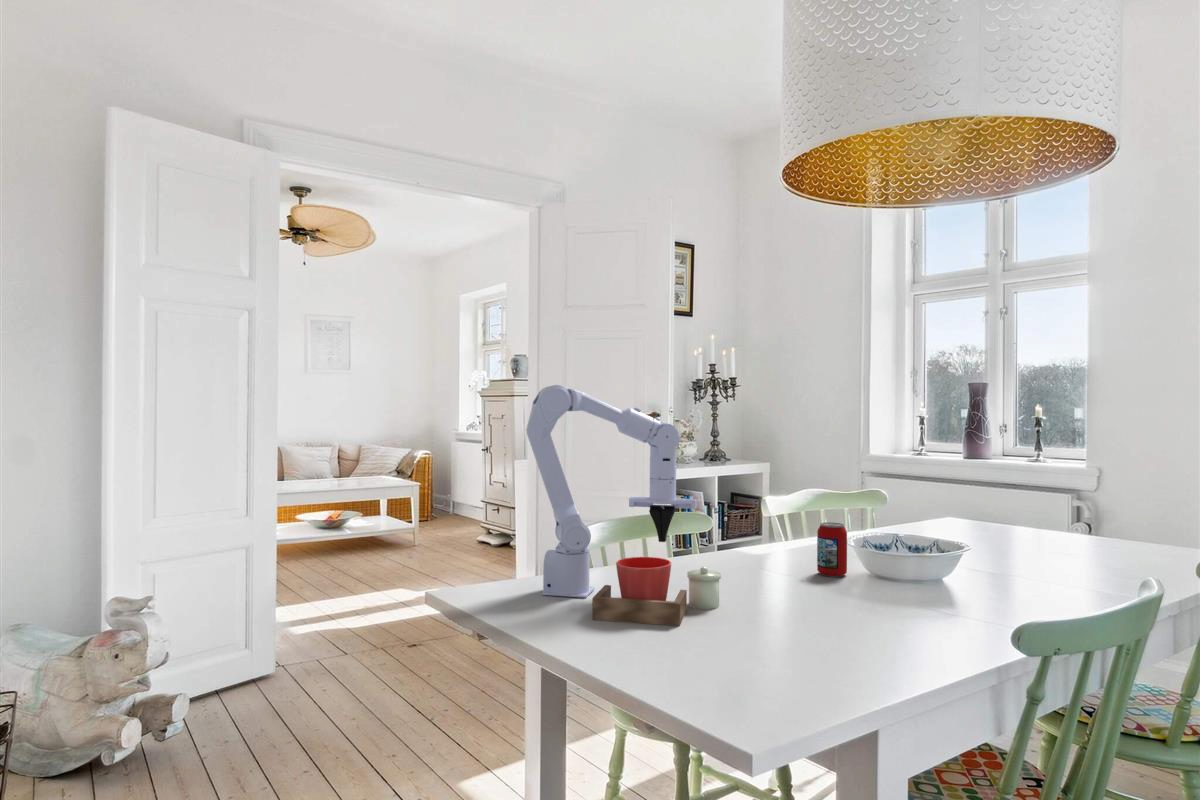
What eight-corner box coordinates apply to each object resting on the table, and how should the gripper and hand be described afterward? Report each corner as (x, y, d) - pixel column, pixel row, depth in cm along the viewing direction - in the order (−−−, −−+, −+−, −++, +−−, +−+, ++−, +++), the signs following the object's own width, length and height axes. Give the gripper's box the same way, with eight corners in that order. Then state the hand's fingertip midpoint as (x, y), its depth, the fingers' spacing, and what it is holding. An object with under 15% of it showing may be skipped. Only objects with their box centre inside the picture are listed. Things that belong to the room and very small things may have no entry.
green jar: (685, 608, 148) (685, 569, 148) (689, 600, 154) (689, 562, 154) (719, 610, 146) (719, 571, 146) (721, 602, 153) (721, 564, 153)
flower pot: (606, 615, 142) (606, 564, 142) (629, 602, 152) (629, 554, 152) (658, 623, 137) (658, 569, 138) (679, 609, 147) (679, 559, 147)
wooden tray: (592, 619, 139) (592, 597, 139) (604, 605, 150) (605, 584, 150) (679, 625, 136) (679, 603, 136) (686, 610, 146) (686, 590, 146)
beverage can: (811, 573, 181) (811, 522, 181) (833, 570, 184) (833, 521, 184) (830, 578, 175) (831, 526, 175) (853, 576, 178) (853, 525, 178)
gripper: (626, 479, 161) (626, 542, 161) (694, 481, 158) (694, 546, 158) (632, 476, 168) (632, 537, 168) (697, 478, 165) (697, 540, 165)
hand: (662, 541), depth 163 cm, fingers closed
